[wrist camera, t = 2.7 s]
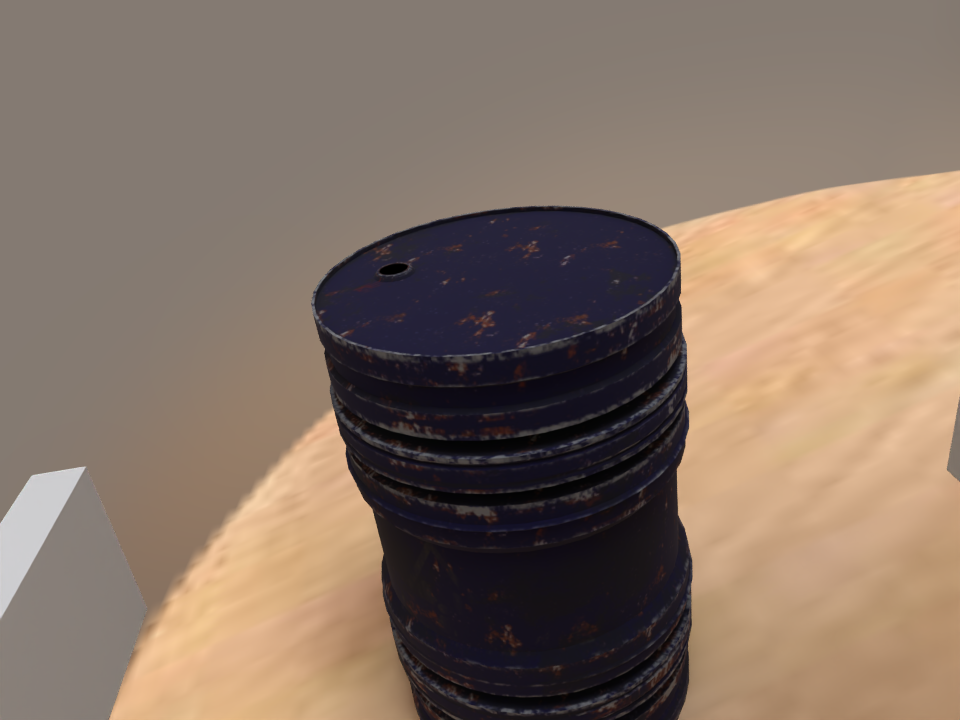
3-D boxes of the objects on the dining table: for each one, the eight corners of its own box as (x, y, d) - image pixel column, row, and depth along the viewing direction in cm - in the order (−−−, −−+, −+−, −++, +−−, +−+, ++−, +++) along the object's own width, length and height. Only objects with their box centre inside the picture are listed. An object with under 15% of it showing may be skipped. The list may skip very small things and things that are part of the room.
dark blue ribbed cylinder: (703, 576, 31) (700, 198, 24) (681, 825, 23) (667, 365, 16) (458, 550, 34) (391, 210, 27) (362, 761, 26) (230, 353, 19)
